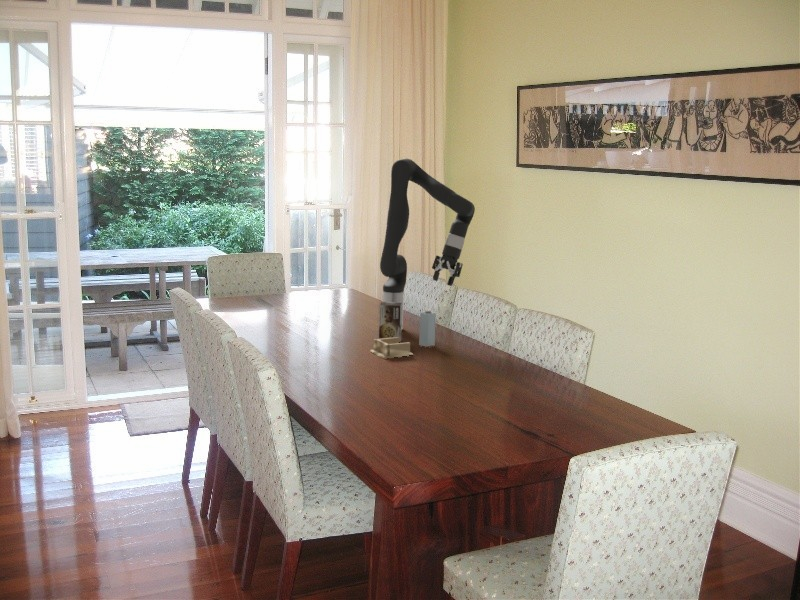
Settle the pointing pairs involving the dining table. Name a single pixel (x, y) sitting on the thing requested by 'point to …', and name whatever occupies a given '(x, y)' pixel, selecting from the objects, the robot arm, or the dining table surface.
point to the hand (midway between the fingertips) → (442, 282)
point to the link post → (427, 328)
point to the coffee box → (390, 320)
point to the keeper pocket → (390, 348)
